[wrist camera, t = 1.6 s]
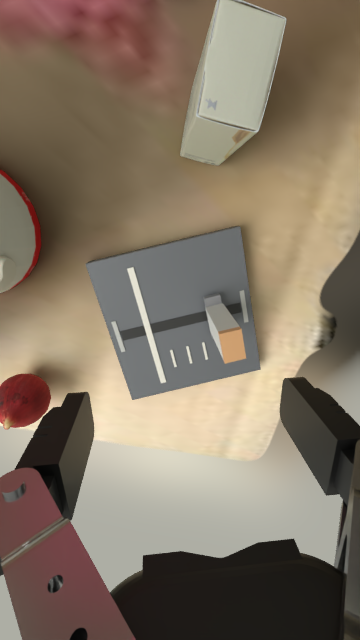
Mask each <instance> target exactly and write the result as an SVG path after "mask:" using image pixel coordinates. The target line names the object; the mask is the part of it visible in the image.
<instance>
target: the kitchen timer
mask: <svg viewBox="0 0 360 640" xmlns="http://www.w3.org/2000/svg"><path fill="white" fill-rule="evenodd" d="M40 249H41V231H40V224H39V221H38V218H37V215H36V212H35V210H34V207H33V205H32V203H31V202H30V200H29V199H28V197H27V196H26V194H25V193H24V191H23V190H22V188H21V187H20V186H19V185H18V184H17V183H16V182H15V181H14V180H13V179H11V178H10V177H9V176H8V175H7V174H6V173H5V172H4V171H2V170H1V169H0V293H2V292H5V291H7V290H10V289H11V288H13V287H15V286H16V285H18V284H19V283H20V282H22V281H23V280H24V279H25V278H27V277H28V276H29V274H30V273H31V271H32V270H33V268H34V266H35V265H36V263H37V261H38V257H39V253H40Z"/></svg>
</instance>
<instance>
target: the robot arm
mask: <svg viewBox="0 0 360 640" xmlns="http://www.w3.org/2000/svg"><path fill="white" fill-rule="evenodd" d="M280 417H281V420H282V423H283V425H284V427H285V428H286V430H287V432H288V433H289V435H290V437H291V438H292V440H293V442H294V443H295V445H296V447H297V448H298V450H299V452H300V453H301V455H302V457H303V458H304V460H305V461H306V463H307V465H308V466H309V468H310V470H311V471H312V473H313V475H314V476H315V478H316V479H317V481H318V483H319V484H320V486H321V488H322V489H323V491H324V493H325V494H326V495H336V494H340V496H341V497H342V499H343V503H342V507H341V514H340V522H339V531H338V539H337V548H336V555H335V562H334V566H332V565H330V564H328V563H327V562H325V561H323V560H321V559H318V558H316V557H313V556H310V555H307V554H303V553H300V552H299V549H298V547H297V545H296V543H295V540H294V539H287V540H278V541H269V542H260V543H256V544H254V545H252V546H250V547H247V548H245V549H243V550H240V551H238V552H236V553H234V554H231V555H229V556H227V557H224V558H216V557H210V556H205V555H199V554H193V553H188V552H182V551H180V552H170V553H162V554H153V555H144V556H143V570H142V571H139V572H137V573H135V574H133V575H132V576H130V577H128V578H127V579H125V580H124V581H123V582H121V583H120V584H119V585H117V586H116V587H115V588H114V589H113V590H112V591H111V592H109V591H108V589H107V587H106V585H105V583H104V582H103V580H102V578H101V576H100V574H99V573H98V571H97V569H96V567H95V565H94V564H93V562H92V560H91V558H90V556H89V554H88V553H87V551H86V549H85V547H84V545H83V544H82V542H81V540H80V538H79V536H78V535H77V533H76V531H75V529H74V527H73V525H72V524H71V522H70V520H72V517H73V513H74V509H75V506H76V502H77V498H78V494H79V491H80V487H81V483H82V480H83V476H84V472H85V468H86V465H87V460H88V457H89V453H90V450H91V446H92V442H93V438H94V422H93V415H92V409H91V403H90V397H89V394H88V392H80V393H68V394H67V395H66V398H65V400H64V402H63V404H62V406H61V407H53V408H52V409H51V410H50V411H49V412H48V413H47V414H46V415H45V416H43V418H42V420H41V422H40V424H39V426H38V429H36V431H35V433H34V435H33V438H31V440H30V442H29V444H28V446H27V448H26V450H25V452H24V453H23V455H22V457H21V459H20V461H19V462H18V464H17V466H16V468H15V470H13V471H11V472H9V473H7V474H5V475H3V476H2V477H1V478H0V576H1V575H3V574H4V576H5V580H6V584H7V587H8V590H9V594H10V598H11V601H12V605H13V608H14V612H15V615H16V619H17V622H18V626H19V630H20V633H21V637H22V640H360V426H359V425H358V424H357V423H356V422H355V421H354V419H353V418H352V417H351V416H350V415H349V414H348V413H345V410H344V409H343V408H342V407H341V406H339V405H338V403H337V402H336V401H335V400H334V399H333V398H332V397H331V396H330V395H329V394H327V393H326V392H324V391H322V390H320V389H319V388H314V387H313V386H312V385H311V384H310V383H309V382H308V381H307V380H306V379H305V378H304V377H296V378H285V379H284V380H283V385H282V394H281V403H280Z"/></svg>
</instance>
